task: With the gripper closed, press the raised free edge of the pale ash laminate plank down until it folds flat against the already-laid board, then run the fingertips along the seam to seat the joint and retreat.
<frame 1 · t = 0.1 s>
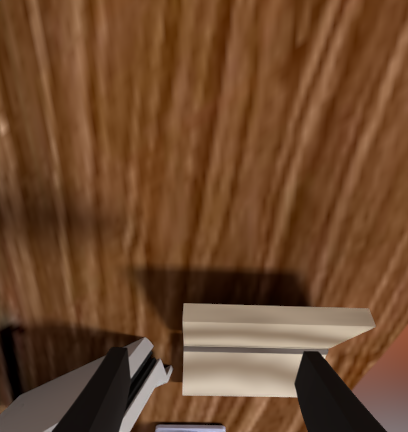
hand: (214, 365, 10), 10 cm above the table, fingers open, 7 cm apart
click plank: (266, 328, 20), point 2 cm above the table, hinge at 28.0°
hinge: (87, 371, 25), on the table
laid board: (249, 361, 25), on the table
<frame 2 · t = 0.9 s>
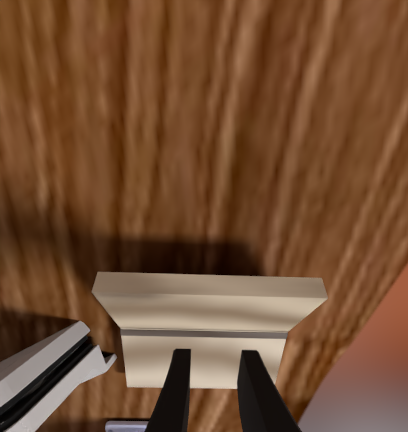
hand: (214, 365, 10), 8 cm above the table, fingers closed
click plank: (207, 305, 17), point 2 cm above the table, hinge at 28.0°
hinge: (22, 360, 23), on the table
laid board: (202, 348, 22), on the table
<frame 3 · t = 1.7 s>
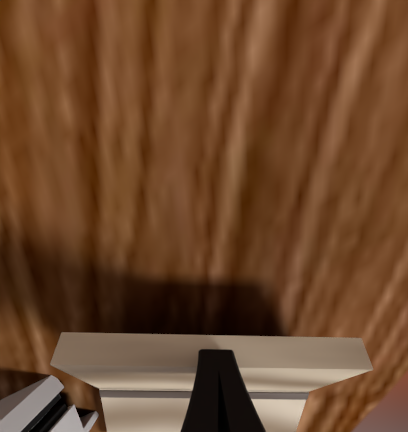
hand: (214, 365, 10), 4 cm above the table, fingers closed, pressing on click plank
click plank: (209, 367, 13), point 2 cm above the table, hinge at 26.1°, touching gripper
laid board: (202, 404, 18), on the table
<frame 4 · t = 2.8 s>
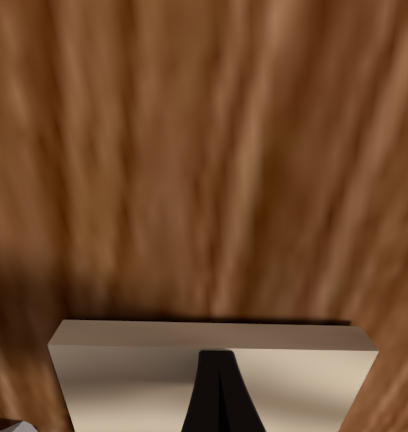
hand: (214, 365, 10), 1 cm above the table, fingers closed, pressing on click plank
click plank: (210, 386, 12), point 1 cm above the table, hinge at 1.8°, touching gripper
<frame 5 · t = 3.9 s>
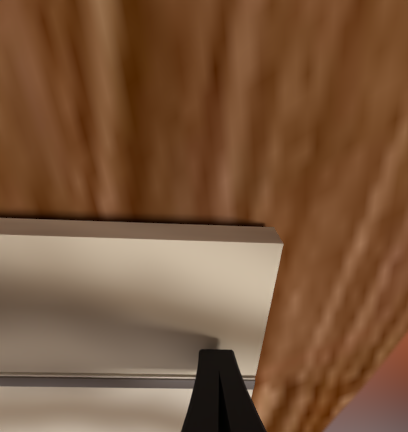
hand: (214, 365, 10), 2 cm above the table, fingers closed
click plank: (107, 304, 10), point 1 cm above the table, hinge at 1.7°
laid board: (125, 396, 14), on the table
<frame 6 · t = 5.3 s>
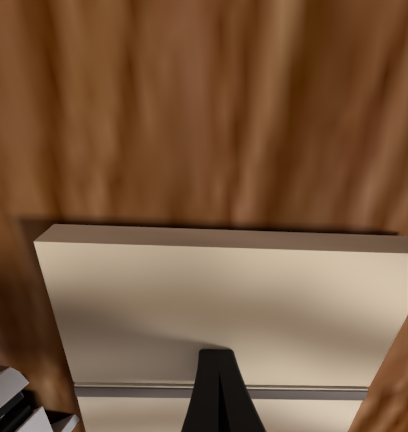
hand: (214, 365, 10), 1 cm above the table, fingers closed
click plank: (229, 314, 10), point 1 cm above the table, hinge at 1.7°
laid board: (216, 405, 13), on the table
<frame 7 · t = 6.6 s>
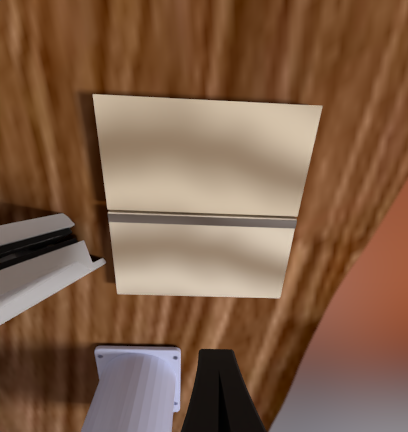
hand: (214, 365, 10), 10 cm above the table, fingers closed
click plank: (205, 159, 16), point 1 cm above the table, hinge at 1.7°
hinge: (2, 270, 20), on the table
laid board: (201, 250, 19), on the table
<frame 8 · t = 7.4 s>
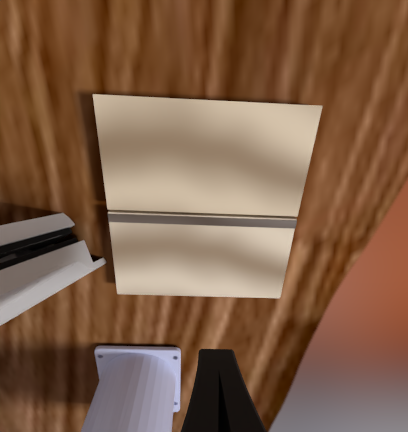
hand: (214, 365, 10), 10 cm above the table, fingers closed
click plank: (205, 159, 16), point 1 cm above the table, hinge at 1.7°
hinge: (3, 270, 20), on the table
laid board: (201, 250, 19), on the table
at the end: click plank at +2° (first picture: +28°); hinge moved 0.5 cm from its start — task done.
